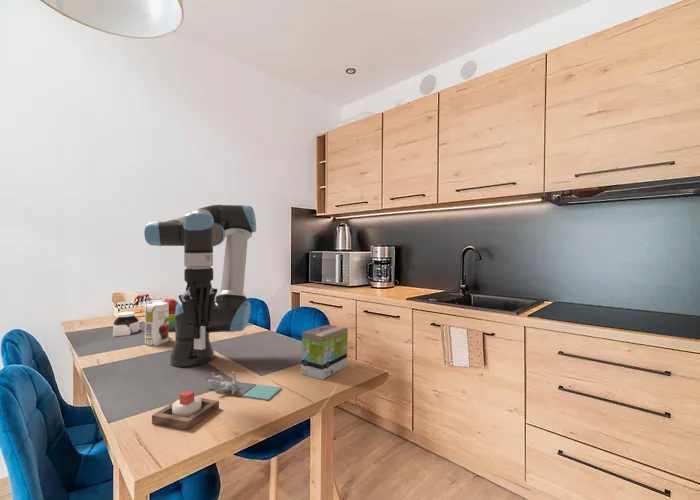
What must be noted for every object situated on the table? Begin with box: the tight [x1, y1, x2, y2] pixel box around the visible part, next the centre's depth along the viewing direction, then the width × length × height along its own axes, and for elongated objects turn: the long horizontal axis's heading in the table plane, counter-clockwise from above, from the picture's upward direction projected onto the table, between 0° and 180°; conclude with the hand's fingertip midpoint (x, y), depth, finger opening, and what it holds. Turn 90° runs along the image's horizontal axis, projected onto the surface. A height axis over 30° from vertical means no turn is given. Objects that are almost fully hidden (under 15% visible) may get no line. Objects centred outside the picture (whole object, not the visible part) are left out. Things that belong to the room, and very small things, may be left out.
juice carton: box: [144, 301, 170, 347], centre depth 142 cm, size 8×9×19 cm
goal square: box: [242, 383, 283, 401], centre depth 96 cm, size 8×8×1 cm
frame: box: [151, 397, 220, 431], centre depth 83 cm, size 11×11×2 cm
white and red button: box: [171, 390, 202, 418], centre depth 83 cm, size 7×7×6 cm
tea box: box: [300, 324, 349, 381], centre depth 114 cm, size 15×10×15 cm, turn 148°
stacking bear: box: [163, 298, 179, 332], centre depth 163 cm, size 11×10×18 cm
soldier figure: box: [204, 371, 239, 396], centre depth 97 cm, size 8×5×12 cm
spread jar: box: [112, 311, 140, 338], centre depth 155 cm, size 12×11×12 cm
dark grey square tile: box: [216, 380, 257, 398], centre depth 98 cm, size 8×8×1 cm
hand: (199, 348), depth 92 cm, fingers closed
